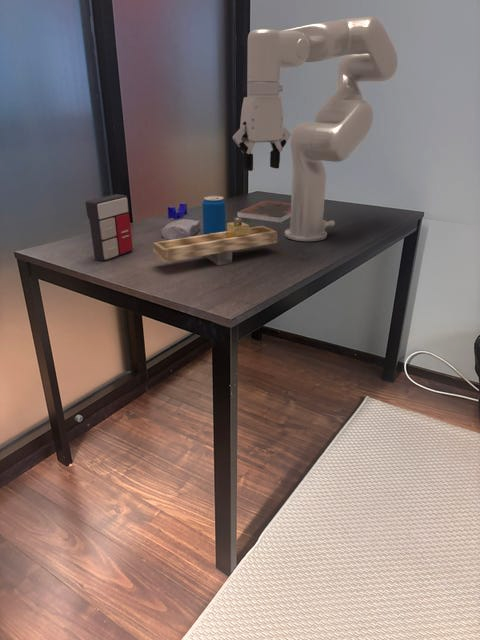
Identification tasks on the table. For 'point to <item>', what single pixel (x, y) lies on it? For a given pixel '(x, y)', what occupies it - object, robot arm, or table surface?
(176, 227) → the stone block
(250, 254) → the table surface
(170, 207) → the cable holder
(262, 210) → the picture frame
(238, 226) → the rider
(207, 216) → the beverage can
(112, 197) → the drawer cabinet
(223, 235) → the beam
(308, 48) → the robot arm
